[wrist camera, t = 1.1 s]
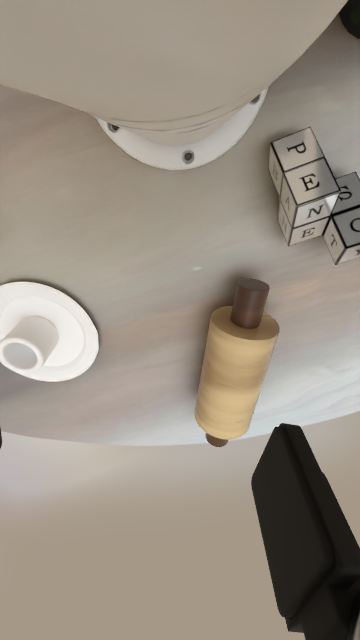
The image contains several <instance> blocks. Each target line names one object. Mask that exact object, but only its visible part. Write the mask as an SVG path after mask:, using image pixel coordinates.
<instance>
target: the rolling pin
mask: <svg viewBox="0 0 360 640" xmlns="http://www.w3.org/2000/svg"><path fill="white" fill-rule="evenodd" d="M268 292H269V285H268V284H266V283H264V282H262V281H259V280H256V279H240V280H239V281H238V283H237V288H236V293H235V297H234V302H233V306H224V307H220V308H218V309H216V310H214V311H213V312H212V314H211V319H210V324H209V330H208V336H207V342H206V348H205V354H204V360H203V365H202V371H201V377H200V383H199V389H198V395H197V400H196V406H195V418H196V421H197V423H198V424H199V426H200V427H201V428H202V429H203V430H204V431H205V432H206V439H207V441H208V442H209V443H210V444H211V445H213V446H216V447H222V446H224V445H226V444H227V442H228V439H236V438H238V437H241V436H242V435H244V434H245V433H246V432H247V430H248V428H249V425H250V422H251V419H252V416H253V413H254V410H255V406H256V403H257V400H258V397H259V394H260V391H261V388H262V384H263V381H264V378H265V375H266V372H267V369H268V365H269V362H270V359H271V356H272V353H273V350H274V346H275V343H276V340H277V337H278V334H279V325H278V323H277V322H276V321H275V320H274V319H273V318H272V317H271V316H269V315H267V314H266V313H264V312H263V311H264V307H265V303H266V300H267V296H268Z"/></svg>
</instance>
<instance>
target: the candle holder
mask: <svg viewBox="0 0 360 640" xmlns="http://www.w3.org/2000/svg"><path fill="white" fill-rule="evenodd" d="M98 351H99V344H98V332H97V330H96V328H95V326H94V324H93V322H92V321H91V319H90V317H89V316H88V314H87V313H86V312H85V311H84V309H83V308H82V307H81V306H80V305H79V304H78V303H76V302H75V301H74V300H73V299H72V298H70V297H69V296H67V295H66V294H64V293H62V292H60V291H59V290H56V289H54V288H52V287H49V286H46V285H43V284H39V283H34V282H12V283H7V284H4V285H1V286H0V362H1V363H2V364H4V365H5V366H6V367H7V368H9V369H10V370H12V371H14V372H16V373H18V374H21V375H23V376H26V377H28V378H32V379H36V380H41V381H51V382H55V381H64V380H69V379H72V378H75V377H77V376H79V375H81V374H82V373H84V372H85V371H86V370H87V369H88V368H89V367H90V366H91V365H92V363H93V362H94V360H95V358H96V356H97V353H98Z"/></svg>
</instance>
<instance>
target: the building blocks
mask: <svg viewBox="0 0 360 640" xmlns="http://www.w3.org/2000/svg"><path fill="white" fill-rule="evenodd" d="M269 173H270V175H271V178H272V180H273V183H274V185H275V188H276V190H277V193H278V195H279V198H280V203H279V211H278V221H279V224H280V227H281V229H282V232H283V234H284V237H285V239H286V242H287V245H288V246H291V245H294V244H297V243H300V242H303V241H306V240H310V239H313V238H316V237H319V236H322V235H323V238H324V240H325V242H326V244H327V247H328V249H329V251H330V254H331V256H332V258H333V261H334V263H335V265H337V264H340V263H344V262H347V261H350V260H353V259H357V258H360V179H359V177H358V175H357V173H356V172H353V173H350V174H348V175H345V176H342V177H339V178H337V179H335V177H334V175H333V173H332V171H331V169H330V167H329V165H328V162H327V160H326V158H325V156H324V154H323V152H322V150H321V148H320V146H319V144H318V142H317V140H316V137H315V135H314V133H313V131H312V129H311V127H308V128H306V129H303V130H301V131H298V132H296V133H293V134H291V135H288V136H286V137H283V138H281V139H278V140H276V141H273V142H271V143H270V156H269Z"/></svg>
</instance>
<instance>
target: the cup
mask: <svg viewBox="0 0 360 640" xmlns="http://www.w3.org/2000/svg"><path fill="white" fill-rule="evenodd" d="M339 15H340V18H341V21H342V23H343V25H344V26H345V28H346V29H347V30H348V32H349V33H350V34H352V35H353V36H355V37H356V38H358V39H360V0H348V1H347V3H346V4H345V5H344V6H343V8H342V9H341V10H340V12H339Z"/></svg>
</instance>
